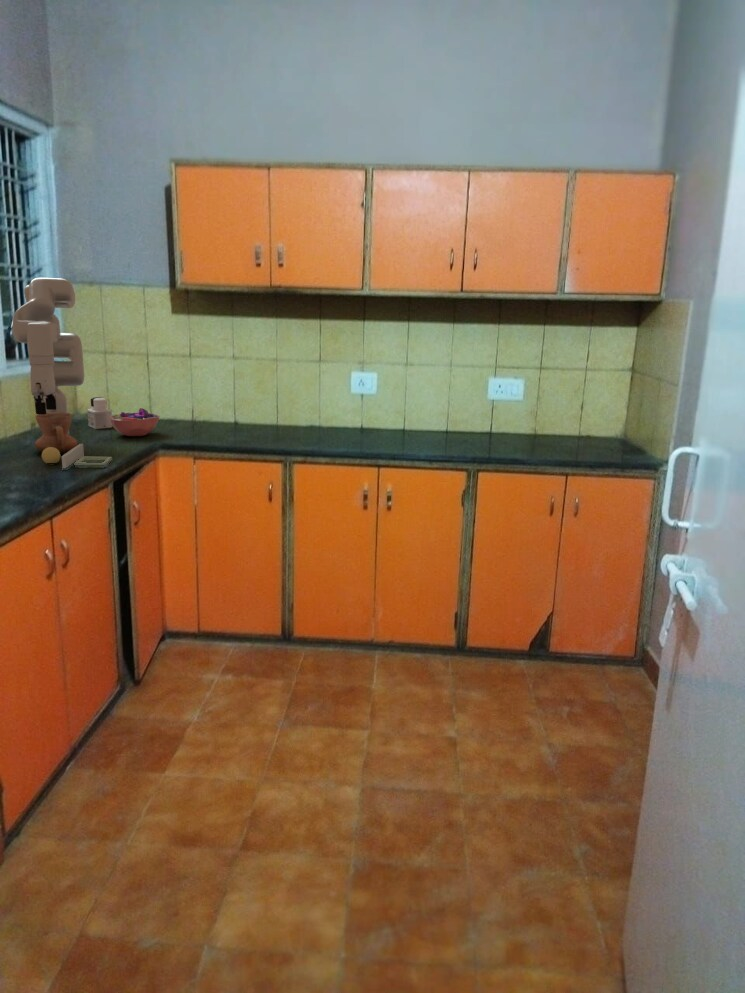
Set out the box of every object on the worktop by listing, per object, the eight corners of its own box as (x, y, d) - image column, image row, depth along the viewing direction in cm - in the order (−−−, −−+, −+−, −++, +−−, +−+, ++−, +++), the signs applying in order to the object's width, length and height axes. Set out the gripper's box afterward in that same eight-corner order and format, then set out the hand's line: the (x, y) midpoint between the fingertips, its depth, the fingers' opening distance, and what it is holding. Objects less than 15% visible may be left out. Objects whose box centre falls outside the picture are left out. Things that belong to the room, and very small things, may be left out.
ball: (45, 461, 240) (44, 445, 239) (63, 462, 241) (62, 445, 239) (39, 466, 235) (38, 449, 233) (58, 466, 235) (56, 449, 234)
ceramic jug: (32, 448, 258) (29, 411, 254) (73, 446, 266) (71, 409, 262) (39, 459, 244) (35, 420, 240) (82, 456, 251) (79, 417, 247)
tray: (83, 461, 244) (82, 456, 243) (112, 461, 245) (111, 456, 244) (74, 468, 234) (74, 462, 234) (104, 468, 235) (104, 463, 235)
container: (88, 426, 304) (86, 397, 300) (105, 424, 309) (103, 396, 305) (95, 429, 298) (93, 399, 295) (112, 427, 303) (110, 398, 300)
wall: (80, 457, 249) (79, 443, 248) (84, 457, 249) (83, 443, 248) (62, 470, 230) (61, 456, 229) (66, 470, 230) (65, 456, 229)
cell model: (104, 434, 289) (103, 407, 286) (150, 430, 302) (149, 404, 299) (120, 441, 277) (118, 414, 274) (167, 436, 290) (165, 410, 287)
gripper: (39, 358, 236) (44, 407, 240) (19, 362, 219) (25, 415, 224) (62, 358, 236) (66, 408, 241) (44, 363, 220) (48, 416, 225)
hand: (46, 411), depth 232 cm, fingers open, 9 cm apart
